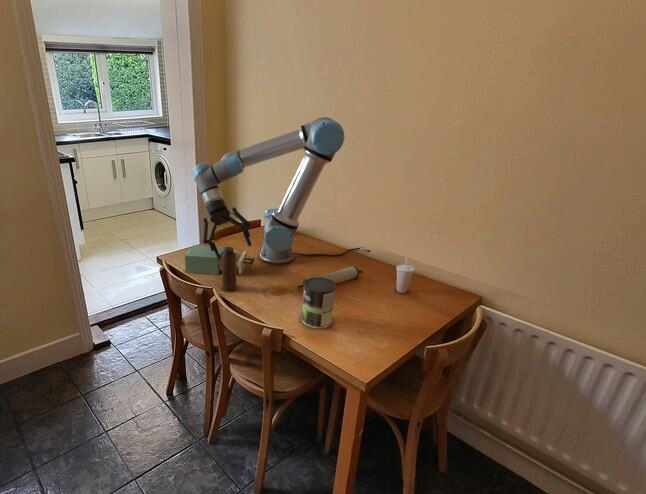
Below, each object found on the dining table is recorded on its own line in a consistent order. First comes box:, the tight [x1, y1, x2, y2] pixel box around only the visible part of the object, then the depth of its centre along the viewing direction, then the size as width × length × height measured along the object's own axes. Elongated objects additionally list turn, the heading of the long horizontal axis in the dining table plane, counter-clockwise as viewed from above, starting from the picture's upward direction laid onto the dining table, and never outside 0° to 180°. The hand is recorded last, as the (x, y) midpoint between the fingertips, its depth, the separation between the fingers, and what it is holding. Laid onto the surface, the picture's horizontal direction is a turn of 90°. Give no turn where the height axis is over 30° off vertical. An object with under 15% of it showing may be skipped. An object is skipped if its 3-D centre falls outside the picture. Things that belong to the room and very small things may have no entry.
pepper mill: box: [221, 246, 237, 293], centre depth 158 cm, size 5×5×17 cm
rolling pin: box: [297, 266, 363, 289], centre depth 163 cm, size 32×6×5 cm, turn 117°
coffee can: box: [301, 276, 337, 330], centre depth 137 cm, size 10×10×14 cm
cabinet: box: [184, 244, 226, 275], centre depth 179 cm, size 15×13×8 cm
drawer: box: [218, 250, 255, 275], centre depth 177 cm, size 18×11×6 cm, turn 77°
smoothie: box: [395, 256, 415, 294], centre depth 156 cm, size 6×6×14 cm
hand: (234, 251), depth 161 cm, fingers open, 13 cm apart
